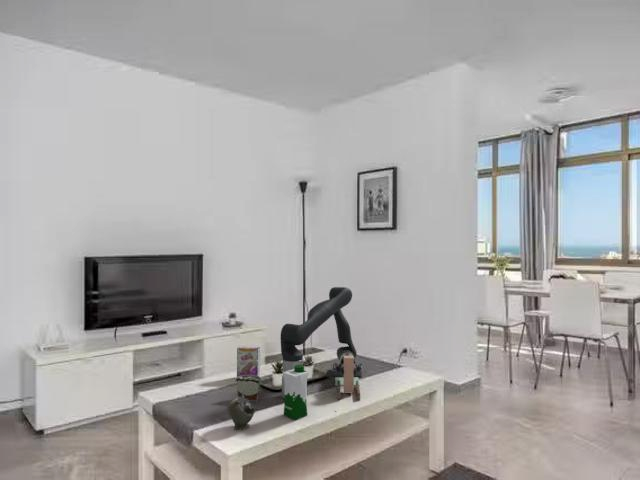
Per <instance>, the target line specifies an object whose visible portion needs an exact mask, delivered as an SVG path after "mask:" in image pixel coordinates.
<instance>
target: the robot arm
mask: <svg viewBox="0 0 640 480" xmlns="http://www.w3.org/2000/svg"><path fill="white" fill-rule="evenodd" d="M328 297H329V299H326V300H324V301H321V302H318V303H317V304H315V305H314V306H313V307H312V308H310V309H309V311H308V313H307V320H306V321H304V322H303V323H302V324H294V323H285V324H284V325H283V326H282V328H281V330H280V353H281V355H282V373H283V372H286V371H288V370H292V369H294V367H295V365H303V363H304V360H303V355H304V354H303V352H302V351H301V350H299V349H298V348H297V346H301V345H303V344H304V343H305V342H306V341H307V340H308V339H309V338H310V337H311V336H312V334H313V333H314V332H315V331H317V330H318V328H320V326H322V325H324V323H326V322H327V321H328V320H329V319H330V318H331V317H332V316H333V318H334V320H335V325H336V332H337V340H338V342H339V343H340V344H343V345H345V344H346V345H348V346H340V347H338V348H337V350H336V356H337V359H338V360H339V361H340V362H339V365H338V363H337V362H335V363H333V364H334V369H335V370H336V371H337V372H340V371H341V373H342V374H344V356H354V375H355V374H356V371H357V372H360V371H361V370H362V369H363V364H362V363H359V364H357V363H356V357H357V349H356V348H355V345H354V343H353V340H352V339H353V338H352V332H351V326H350V323H349V322H348V320H347V319H346V317H345V315H344V314H343V312H342V310H341V309H343V308H344V307H346V306H347V305H349V304H350V302H351V301H352V298H353V292H352V290H351V289H350V288H348V287H345V286H344V287H343V286H342V287H341V286H339V287H337V286H335V287H332V288H331V289H330V290H329V293H328ZM303 366H304V365H303ZM281 398H282V399H285V384H284V377H283V375H282V377H281Z"/></svg>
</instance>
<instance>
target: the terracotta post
mask: <svg viewBox="0 0 640 480" xmlns="http://www.w3.org/2000/svg"><path fill="white" fill-rule="evenodd" d="M342 387H343V393H354V392H355V391H354V389H355V386H354V356H344V384H343V386H342Z"/></svg>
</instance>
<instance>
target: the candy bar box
mask: <svg viewBox="0 0 640 480" xmlns="http://www.w3.org/2000/svg"><path fill="white" fill-rule="evenodd" d="M260 362H261V346H254V345H253V346H251V345H250V346H249V345H239V346H238V347H237V348H236V377H238V376H241V375H257V376H259V377H260V378H261V375H260V374H261V373H260V372H261V363H260Z"/></svg>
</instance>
